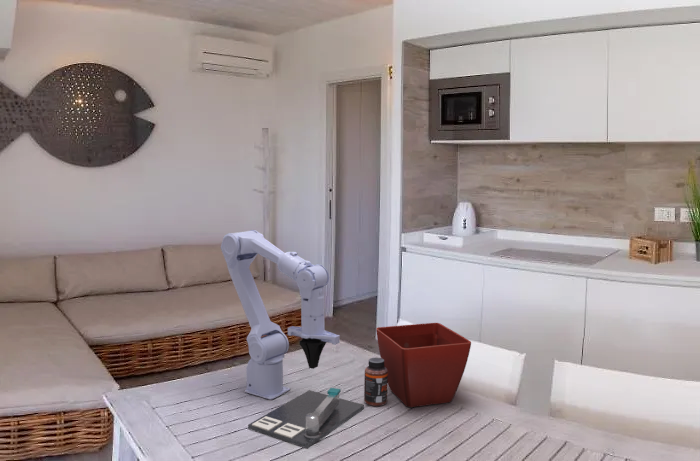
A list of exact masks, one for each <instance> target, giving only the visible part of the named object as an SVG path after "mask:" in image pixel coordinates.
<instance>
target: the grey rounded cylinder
mask: <svg viewBox="0 0 700 461" xmlns="http://www.w3.org/2000/svg"><path fill="white" fill-rule="evenodd" d="M320 436H321V432H320V431H319V414H316V413H309V414H307V415H306V431H305V432H304V437H305V438H308V439H317V438H319V437H320Z"/></svg>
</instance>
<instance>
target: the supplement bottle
mask: <svg viewBox="0 0 700 461" xmlns="http://www.w3.org/2000/svg"><path fill="white" fill-rule="evenodd" d="M363 383H364V384H363V386H364V387H363V388H364V389H363V392H364V393H363V394H364V395H363V397H364V400H363V401H364V403H366V405H369V406H372V407H373V406H374V407H380V406H384V405H386V404H387V402H388V370H387V368H386V367H385V366H384V359H382V358H381V357H371V358H369V359H368V364H367V366H365V369H364V382H363Z"/></svg>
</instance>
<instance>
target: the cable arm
mask: <svg viewBox="0 0 700 461" xmlns="http://www.w3.org/2000/svg"><path fill="white" fill-rule="evenodd" d="M341 392H342V389H341V388H336V387H330V388H329V389H328V390H327V394H326V395H328V396H327V397H326V398H325V399H324V401H323V402H322V403H321V404H320V405H319V406H318V408H317V409H316V410H315V411H314V412H313V413H316V414H319V428H320V427H321V426H322V425H323V423H324V422H325V421H326V420H327V418H328V417H329V416H330V415H331V413H332V412H333V411H334V410H335V408H336V407H337V406H338V405H339V398H340V394H341Z"/></svg>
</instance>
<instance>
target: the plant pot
mask: <svg viewBox="0 0 700 461" xmlns="http://www.w3.org/2000/svg"><path fill="white" fill-rule="evenodd" d="M375 329H376V330H375V331H376V337H377V344H378V345H377V346H378V350H379V356H380V357H379V358H382V359H384V366H385V367H386V368H387V370H388V384H387V386H388V389H389V391H391V392H392V393H393V394H394V396H396V398H398V399H399V401H401V403H403V404H404V406H406V407H408V408H415V407H423V406H430V405H438V404H447V403H451V402H453V400H454V398H455V395H456V392H457V390H458V389H459V386H460V384H461V382H462V379H463V376H464V372H465V369H466V366H467V363H468V359H469V356H470V352H471V351H470V350H471V348H472V341H471V340H469V339H468V338H466V337H464V336H463V335H461V334H459V333H457V332H456V331H454V330H453V329H451V328H449V327H447V326H445V325H443V324H441V323H439V322H428V323H427V322H426V323H416V324H414V323H413V324H405V325H403V324H401V325H392V326H382V327H381V326H380V327H379V326H378V327H376V328H375Z"/></svg>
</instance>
